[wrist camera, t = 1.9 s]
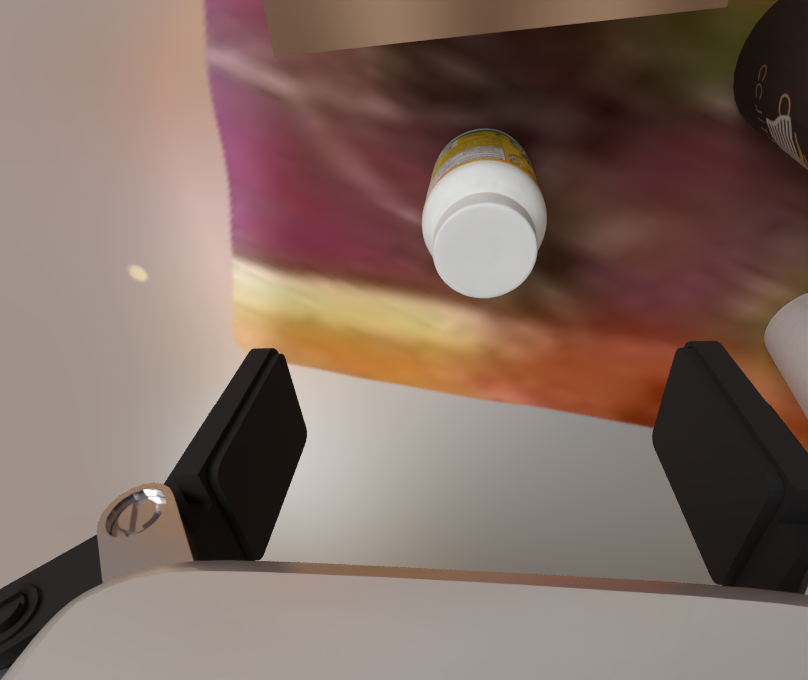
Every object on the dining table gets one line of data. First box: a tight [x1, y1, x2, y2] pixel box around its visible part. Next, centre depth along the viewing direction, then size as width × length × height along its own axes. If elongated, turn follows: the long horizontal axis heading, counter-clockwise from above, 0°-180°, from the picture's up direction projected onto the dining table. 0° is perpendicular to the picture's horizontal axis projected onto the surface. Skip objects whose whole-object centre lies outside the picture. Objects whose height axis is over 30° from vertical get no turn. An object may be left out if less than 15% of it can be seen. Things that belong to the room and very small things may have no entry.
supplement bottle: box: [422, 128, 547, 298], centre depth 22 cm, size 5×5×10 cm
